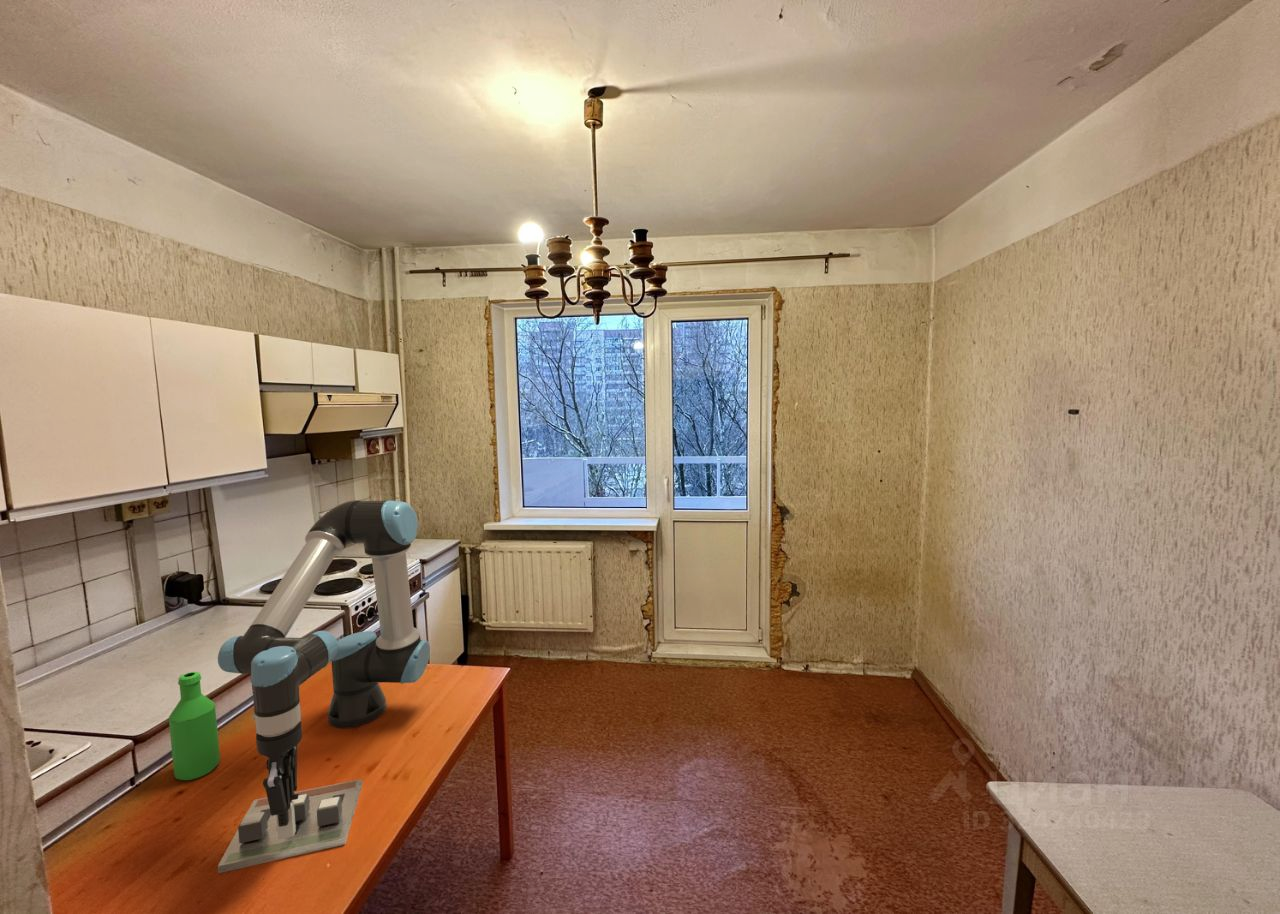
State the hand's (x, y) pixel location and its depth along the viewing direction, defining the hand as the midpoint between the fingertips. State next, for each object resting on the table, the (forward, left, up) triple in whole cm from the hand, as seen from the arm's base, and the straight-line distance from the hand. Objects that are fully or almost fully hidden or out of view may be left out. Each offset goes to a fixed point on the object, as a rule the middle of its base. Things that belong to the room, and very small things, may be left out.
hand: (287, 834), depth 108 cm
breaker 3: (-4, +7, -1) cm, 8 cm away
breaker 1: (-4, -7, -1) cm, 8 cm away
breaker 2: (-7, 0, -1) cm, 7 cm away
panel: (-7, 0, -3) cm, 7 cm away
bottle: (-34, -29, -3) cm, 45 cm away
